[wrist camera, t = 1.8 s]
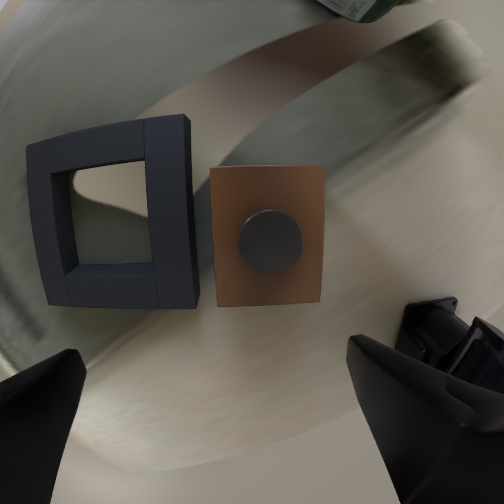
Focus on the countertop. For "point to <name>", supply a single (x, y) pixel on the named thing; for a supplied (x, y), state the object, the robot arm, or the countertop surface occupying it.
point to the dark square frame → (159, 215)
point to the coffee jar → (360, 8)
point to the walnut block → (267, 233)
